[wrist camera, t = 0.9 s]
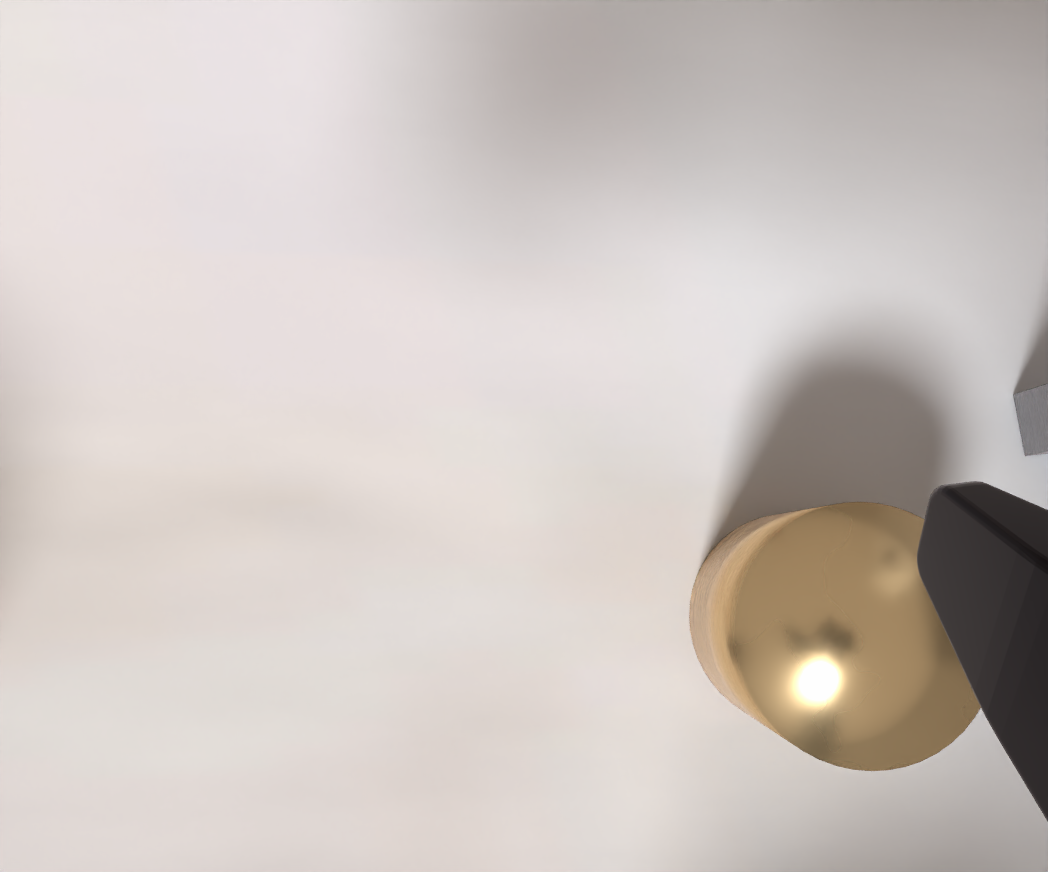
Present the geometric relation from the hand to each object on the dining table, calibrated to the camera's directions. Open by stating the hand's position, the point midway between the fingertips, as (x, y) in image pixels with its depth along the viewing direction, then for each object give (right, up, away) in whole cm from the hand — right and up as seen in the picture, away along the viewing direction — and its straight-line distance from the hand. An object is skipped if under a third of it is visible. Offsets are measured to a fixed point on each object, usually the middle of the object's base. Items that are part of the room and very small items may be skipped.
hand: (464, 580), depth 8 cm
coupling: (+7, -3, +14) cm, 16 cm away
